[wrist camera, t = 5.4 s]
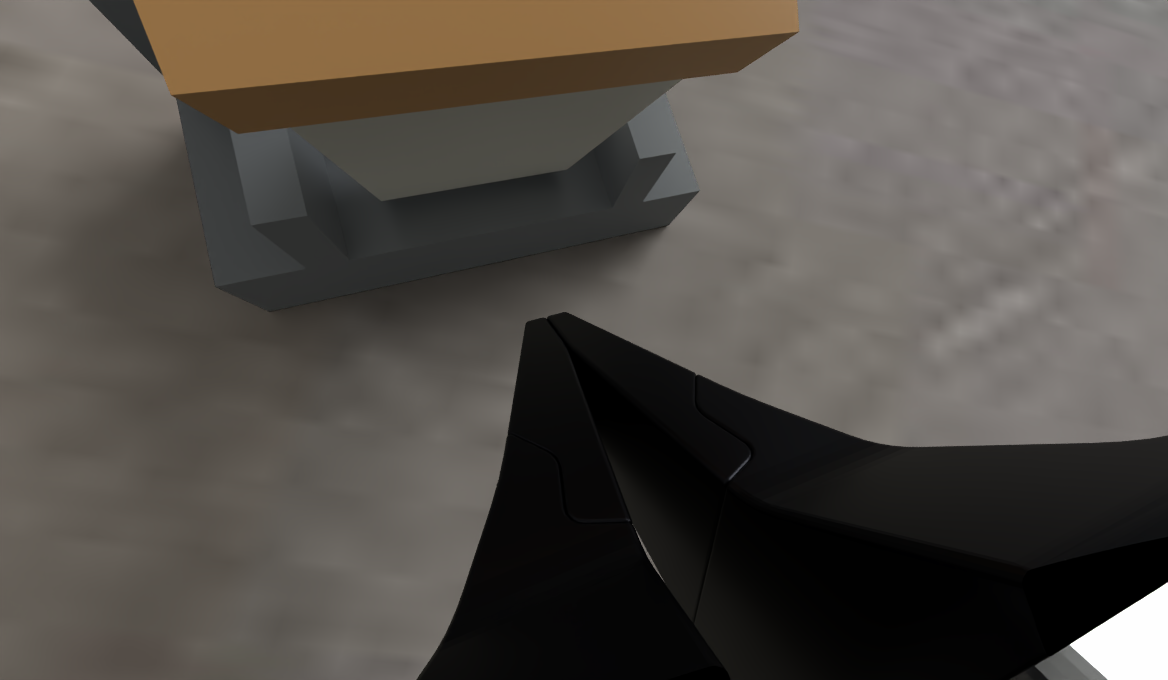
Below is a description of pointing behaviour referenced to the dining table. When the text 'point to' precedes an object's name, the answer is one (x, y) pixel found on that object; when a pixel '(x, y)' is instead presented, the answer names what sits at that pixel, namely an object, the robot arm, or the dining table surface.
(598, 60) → the breaker lever
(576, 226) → the breaker box
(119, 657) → the dining table surface
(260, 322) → the dining table surface
